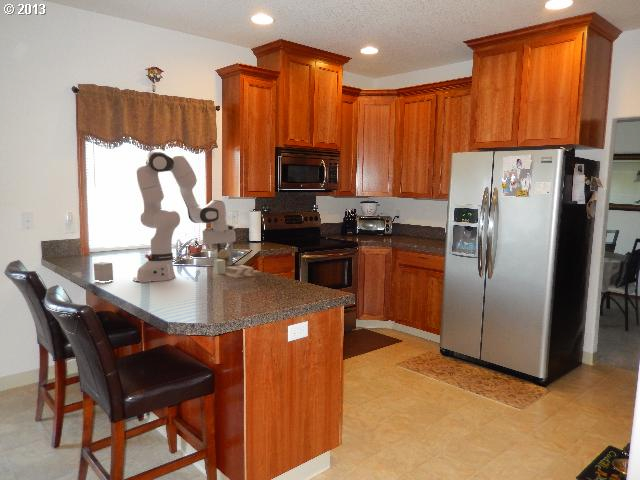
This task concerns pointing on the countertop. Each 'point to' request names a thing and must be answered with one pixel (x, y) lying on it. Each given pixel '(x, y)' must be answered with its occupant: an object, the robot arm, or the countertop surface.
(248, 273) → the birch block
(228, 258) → the coffee box
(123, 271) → the countertop surface
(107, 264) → the small box
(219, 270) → the green block
